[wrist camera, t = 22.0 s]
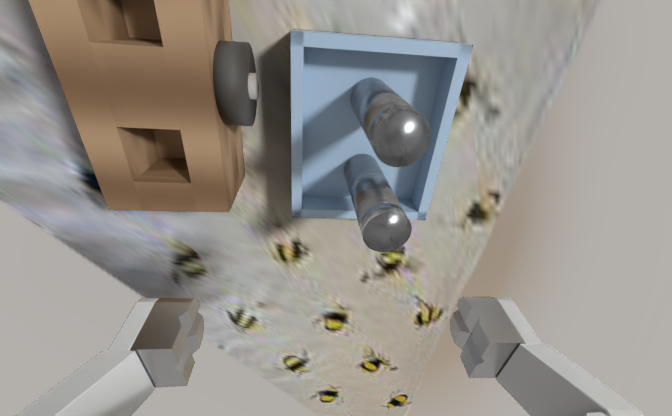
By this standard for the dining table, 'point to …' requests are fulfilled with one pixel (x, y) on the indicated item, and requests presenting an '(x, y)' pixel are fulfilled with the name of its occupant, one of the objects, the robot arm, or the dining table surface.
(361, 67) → the tray
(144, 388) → the robot arm
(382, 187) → the lock pin
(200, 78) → the block
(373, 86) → the lock pin
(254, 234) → the dining table surface
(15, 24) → the dining table surface
